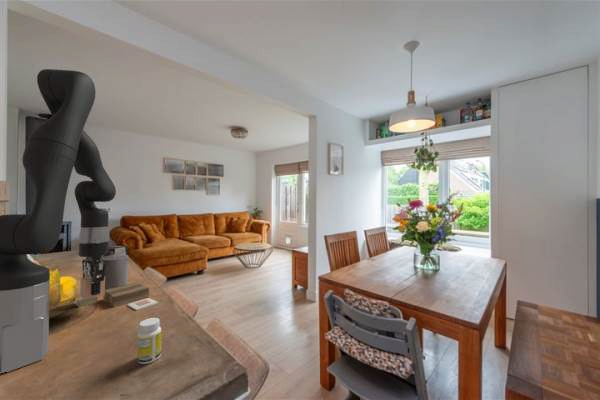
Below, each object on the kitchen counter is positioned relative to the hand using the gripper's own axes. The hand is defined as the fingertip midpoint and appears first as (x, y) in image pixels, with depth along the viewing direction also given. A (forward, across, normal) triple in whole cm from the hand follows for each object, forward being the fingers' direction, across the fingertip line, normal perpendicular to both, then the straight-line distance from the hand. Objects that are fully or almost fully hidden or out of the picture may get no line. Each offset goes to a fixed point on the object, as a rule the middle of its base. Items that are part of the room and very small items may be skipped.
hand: (92, 292), depth 80 cm
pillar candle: (+6, -20, +12) cm, 24 cm away
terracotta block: (+1, 0, 0) cm, 1 cm away
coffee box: (+6, -32, +16) cm, 36 cm away
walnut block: (+7, -5, +11) cm, 14 cm away
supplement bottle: (+8, +40, 0) cm, 41 cm away
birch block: (+6, -12, +1) cm, 13 cm away
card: (+6, +6, +12) cm, 15 cm away
